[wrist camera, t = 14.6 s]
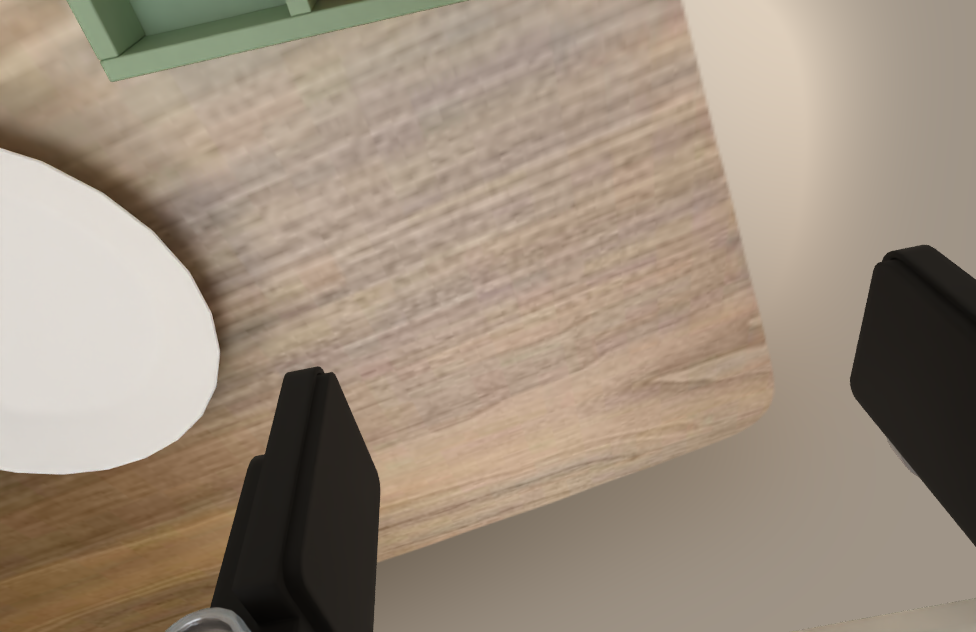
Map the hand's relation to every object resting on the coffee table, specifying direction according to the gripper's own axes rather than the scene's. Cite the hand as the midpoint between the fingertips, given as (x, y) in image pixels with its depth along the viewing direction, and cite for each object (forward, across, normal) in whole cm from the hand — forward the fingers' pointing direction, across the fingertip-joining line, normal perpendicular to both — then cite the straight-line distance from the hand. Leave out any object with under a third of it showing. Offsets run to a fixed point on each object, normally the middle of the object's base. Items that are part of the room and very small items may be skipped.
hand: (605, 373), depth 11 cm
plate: (+22, +27, +8) cm, 35 cm away
